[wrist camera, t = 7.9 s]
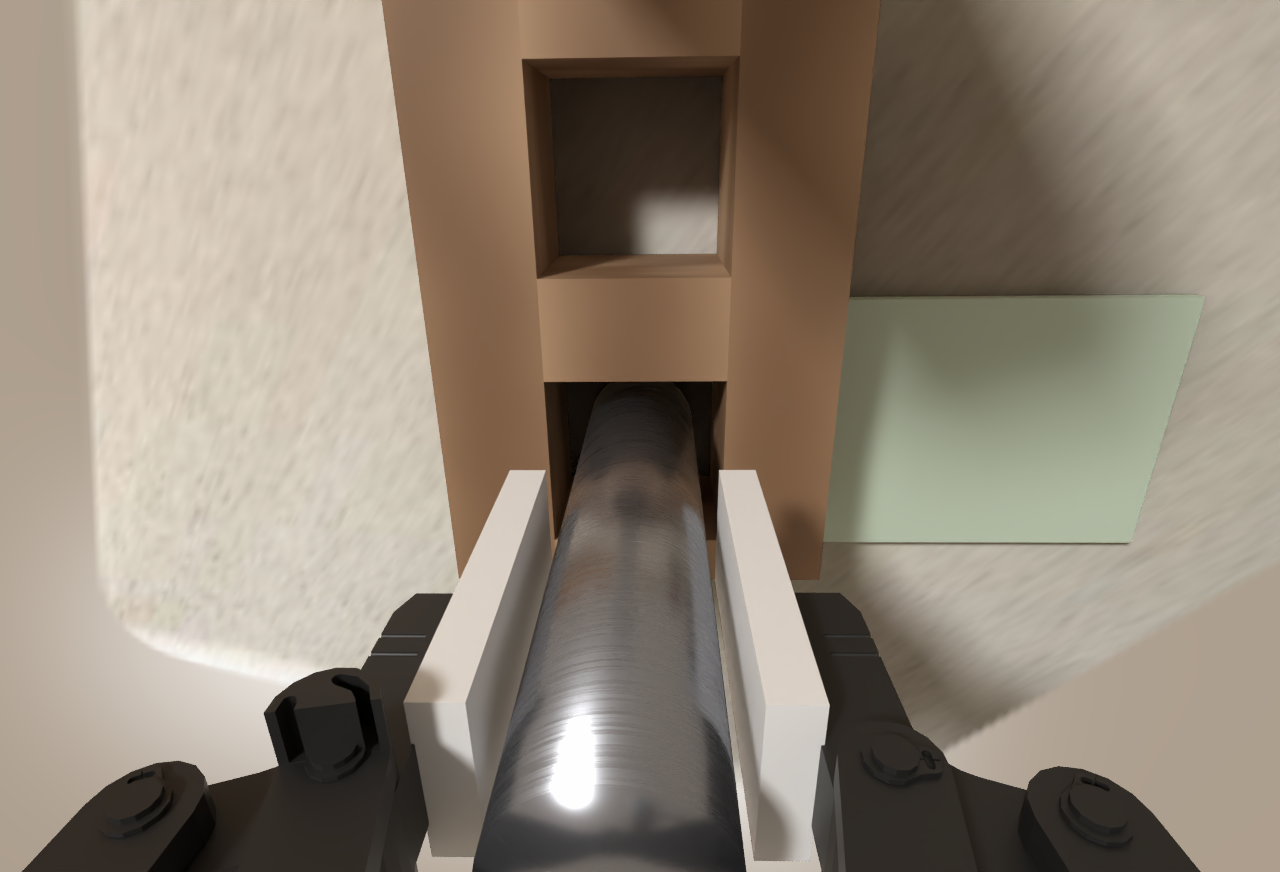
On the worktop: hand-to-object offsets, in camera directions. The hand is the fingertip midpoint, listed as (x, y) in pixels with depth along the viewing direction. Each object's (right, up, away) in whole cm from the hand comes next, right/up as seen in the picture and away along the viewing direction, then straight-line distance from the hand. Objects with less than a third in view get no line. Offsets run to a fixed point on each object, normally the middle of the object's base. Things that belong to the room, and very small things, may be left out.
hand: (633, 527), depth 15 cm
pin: (0, +2, +6) cm, 6 cm away
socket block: (0, +6, +5) cm, 8 cm away
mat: (+11, +2, +7) cm, 13 cm away
